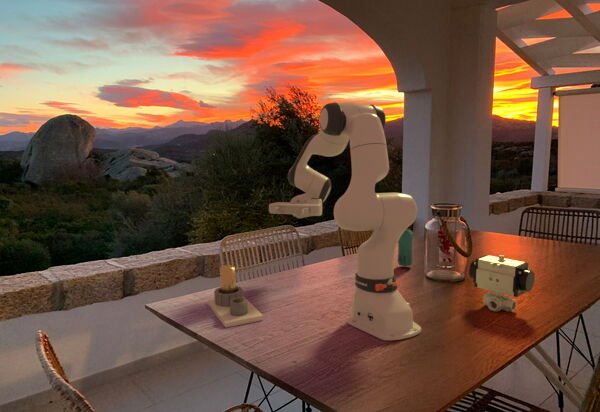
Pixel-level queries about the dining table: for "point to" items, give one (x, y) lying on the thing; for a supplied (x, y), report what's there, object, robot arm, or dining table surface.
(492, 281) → the ball valve
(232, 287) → the amber cylinder
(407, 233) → the beverage bottle
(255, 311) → the fitting plate
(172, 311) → the dining table surface
